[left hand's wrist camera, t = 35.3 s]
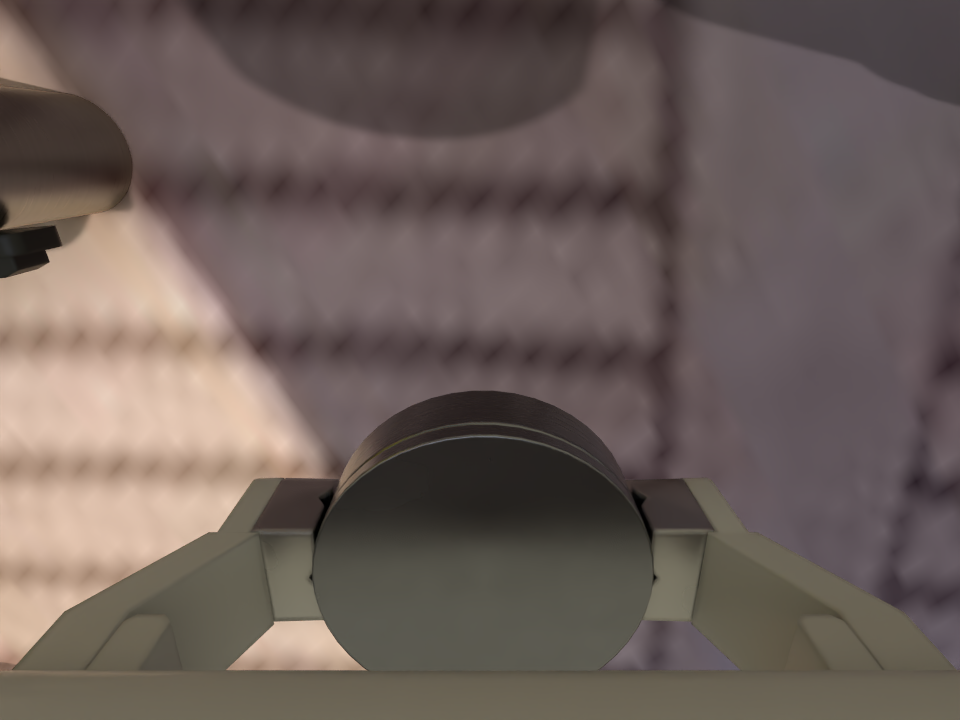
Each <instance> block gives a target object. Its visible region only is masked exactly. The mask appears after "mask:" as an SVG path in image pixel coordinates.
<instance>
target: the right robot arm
mask: <svg viewBox="0 0 960 720" xmlns="http://www.w3.org/2000/svg"><path fill="white" fill-rule="evenodd" d="M60 246H62V243H61V240H60V237H59V235H58V232H57V229H56V226H42V227H30V228H19V229H8V230H0V278H6V277H10V276H14V275H17V274H21V273H24V272H28V271H32V270H35V269H39V268H40V267H42V266H44V265H45V264H47V263H49V259H48V256H47V253H46V251H45V250H47V249H51V248H55V247H60Z"/></svg>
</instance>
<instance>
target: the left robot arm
mask: <svg viewBox="0 0 960 720" xmlns="http://www.w3.org/2000/svg"><path fill="white" fill-rule="evenodd" d="M626 483H627V485H628V487H629V490H630V492H631V494H632V497H633V499H634V501H635V503H636V506H637V508H638V510H639V513H640V515H641V517H642V519H643V522H644V524H645V527H646V530H647V532H648V535H649V538H650V542H651V547H652V552H653V557H654V579H653V586H652V593H651V597H650V600H649V603H648V606H647V609H646V612H645V614H644V616H643V618H642V620H659V621H692V623H691V624H692V625H693V626H694V627H695V628H697V629H698V630H699V631H700V632H701V633H702V634H703V635H704V636H705V637H706V638H707V639H708V640H709V641H710V642H711V643H712V644H714V645H715V646H716V647H717V648H718V649H719V650H720V651H721V652H722V653H723V654H724V655H725V656H726V657H727V658H728V659H730V660H731V661H732V662H733V663H734V664H735V665H736V666H737V667H738V668H739V669H740V670H522V671H315V670H226V669H227V668H228V667H229V666H230V665H231V664H232V663H234V662H235V661H236V660H237V659H238V658H239V657H240V656H241V655H242V654H243V653H244V652H245V651H246V650H247V649H248V648H249V647H250V646H251V645H253V644H254V643H255V642H256V641H257V640H258V639H259V638H260V637H261V636H262V635H263V634H264V633H265V632H266V631H267V630H268V629H269V628H271V627H272V626H273V625H274V621H305V620H324V619H323V617H322V615H321V613H320V610H319V607H318V604H317V601H316V597H315V594H314V587H313V580H312V557H313V552H314V546H315V541H316V538H317V535H318V532H319V530H320V527H321V525H322V522H323V519H324V517H325V515H326V512H327V510H328V508H329V505H330V503H331V500H332V498H333V496H334V493H335V491H336V489H337V486H338V484H339V479H307V478H285V479H284V478H258V479H255V480H253V481H252V483H251V484H250V486H249V487H248V489H247V490H246V492H245V493H244V494H243V496H242V497H241V499H240V500H239V502H238V503H237V505H236V506H235V507H234V509H233V510H232V512H231V513H230V515H229V516H228V518H227V519H226V520H225V522H224V523H223V525H222V526H221V528H220V529H219V531H218V532H209V533H207V534H205V535H203V536H201V537H200V538H198V539H196V540H194V541H192V542H190V543H189V544H187V545H185V546H183V547H181V548H180V549H178V550H176V551H174V552H172V553H170V554H169V555H167V556H165V557H163V558H161V559H160V560H158V561H156V562H154V563H152V564H150V565H149V566H147V567H145V568H143V569H141V570H139V571H138V572H136V573H134V574H132V575H130V576H129V577H127V578H125V579H123V580H121V581H119V582H118V583H116V584H114V585H112V586H110V587H109V588H107V589H105V590H103V591H101V592H99V593H98V594H96V595H94V596H92V597H90V598H89V599H87V600H85V601H83V602H81V603H79V604H78V605H76V606H74V607H72V608H70V609H69V610H67V611H65V612H64V613H63V614H62V615H61V616H60V617H59V618H58V619H57V621H56V622H55V623H54V624H53V625H52V626H51V627H50V628H49V629H48V631H47V632H46V633H45V634H44V635H43V636H42V637H41V638H40V639H39V640H38V642H37V643H36V644H35V645H34V646H33V647H32V648H31V649H30V650H29V652H28V653H27V654H26V655H25V656H24V657H23V658H22V659H21V660H20V662H19V663H18V664H17V665H16V666H15V667H14V668H13V669H12V670H0V720H960V670H956V669H955V668H954V667H953V666H952V664H951V663H950V662H949V661H948V660H947V659H946V658H945V657H944V656H943V655H942V653H941V652H940V651H939V650H938V649H937V648H936V647H935V646H934V645H933V644H932V643H931V641H930V640H929V639H928V638H927V637H926V636H925V635H924V634H923V633H922V632H921V630H920V629H919V628H918V627H917V626H916V625H915V624H914V623H913V622H912V621H911V619H910V618H909V617H908V616H907V615H906V614H905V613H904V612H902V611H900V610H898V609H897V608H895V607H893V606H891V605H889V604H887V603H886V602H884V601H882V600H880V599H878V598H877V597H875V596H873V595H871V594H869V593H867V592H866V591H864V590H862V589H860V588H858V587H856V586H855V585H853V584H851V583H849V582H847V581H845V580H844V579H842V578H840V577H838V576H836V575H834V574H833V573H831V572H829V571H827V570H825V569H823V568H822V567H820V566H818V565H816V564H814V563H812V562H811V561H809V560H807V559H805V558H803V557H801V556H800V555H798V554H796V553H794V552H792V551H790V550H789V549H787V548H785V547H783V546H781V545H779V544H778V543H776V542H774V541H772V540H770V539H768V538H767V537H765V536H763V535H761V534H759V533H757V532H748V531H747V529H746V528H745V526H744V525H743V524H742V522H741V521H740V519H739V518H738V517H737V515H736V514H735V512H734V511H733V510H732V508H731V507H730V505H729V504H728V503H727V501H726V500H725V498H724V497H723V496H722V494H721V493H720V491H719V490H718V489H717V487H716V486H715V484H714V483H713V482H712V480H710V479H708V478H680V479H648V480H626Z"/></svg>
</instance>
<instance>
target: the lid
mask: <svg viewBox="0 0 960 720" xmlns="http://www.w3.org/2000/svg"><path fill="white" fill-rule="evenodd" d="M653 579H654V557H653V552H652V547H651V542H650V538H649V535H648V532H647V530H646V527H645V524H644V522H643V519H642V517H641V515H640V513H639V510H638V508H637V506H636V503H635V501H634V499H633V497H632V494H631V492H630V490H629V487H628V485H627V483H626V480H625V478H624V476H623V474H622V471H621V469H620V467H619V465H618V464H617V462H616V460H615V458H614V457H613V455H612V453H611V452H610V451H609V449H608V448H607V447H606V446H605V444H604V443H603V442H602V440H601V439H600V438H599V437H598V436H597V435H596V434H595V433H593V432H592V431H591V430H590V429H589V428H588V427H587V426H586V425H584V424H583V423H582V422H580V421H579V420H577V419H576V418H575V417H573V416H572V415H570V414H568V413H566V412H565V411H563V410H561V409H559V408H557V407H555V406H553V405H551V404H548V403H545V402H543V401H540V400H537V399H535V398H531V397H527V396H523V395H519V394H515V393H507V392H499V391H467V392H458V393H451V394H447V395H443V396H439V397H435V398H431V399H428V400H425V401H423V402H420V403H418V404H415V405H412V406H410V407H408V408H406V409H405V410H403V411H401V412H399V413H397V414H395V415H394V416H392V417H391V418H389V419H388V420H387V421H385V422H384V423H382V424H381V425H380V426H378V427H377V428H376V429H375V430H374V431H373V432H372V433H371V434H370V435H369V436H368V437H367V438H366V439H365V440H364V441H363V442H362V443H361V445H360V446H359V447H358V449H357V450H356V451H355V452H354V454H353V455H352V457H351V459H350V461H349V462H348V464H347V466H346V468H345V470H344V472H343V474H342V477H341V479H340V481H339V484H338V486H337V489H336V491H335V493H334V496H333V498H332V500H331V503H330V505H329V508H328V510H327V512H326V515H325V517H324V519H323V522H322V525H321V527H320V530H319V532H318V535H317V538H316V541H315V546H314V552H313V557H312V580H313V587H314V594H315V597H316V601H317V604H318V607H319V610H320V613H321V615H322V617H323V619H324V621H325V623H326V625H327V627H328V629H329V630H330V632H331V633H332V634H333V636H334V637H335V639H336V640H337V642H338V643H339V644H340V645H341V646H342V647H343V649H344V650H345V651H346V652H347V653H348V654H349V655H350V656H351V657H352V658H353V659H354V660H355V661H357V662H358V663H359V664H360V665H361V666H362V667H364V668H365V669H366V670H368V671H522V670H599V669H601V668H602V667H603V666H604V665H605V664H607V663H608V662H609V661H610V660H611V659H612V658H614V657H615V656H616V655H617V654H618V653H619V651H620V650H621V649H622V648H623V647H624V646H625V645H626V644H627V643H628V641H629V640H630V638H631V637H632V635H633V634H634V632H635V631H636V630H637V628H638V626H639V624H640V622H641V620H642V618H643V616H644V614H645V612H646V609H647V606H648V603H649V600H650V597H651V593H652V586H653Z"/></svg>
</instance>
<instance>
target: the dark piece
mask: <svg viewBox="0 0 960 720" xmlns="http://www.w3.org/2000/svg"><path fill="white" fill-rule="evenodd" d="M131 177H132V161H131V155H130V151H129V148H128V145H127V143H126V140H125V138H124V136H123V135H122V133H121V131H120V130H119V128H118V127H117V125H116V124H115V123H114V122H113V120H112V119H111V118H110V117H109V116H108V115H107V114H106V113H105V112H104V111H103V110H101V109H100V108H99V107H97V106H96V105H94V104H93V103H91V102H89V101H88V100H85V99H83V98H81V97H78V96H75V95H71V94H66V93H58V92H50V91H41V90H33V89H25V88H17V87H9V86H0V230H2V229H8V228H14V227H19V226H25V225H31V224H37V223H43V222H48V221H54V220H60V219H66V218H72V217H77V216H83V215H89V214H95V213H99V212H104V211H106V210H108V209H110V208H112V207H114V206H115V205H116V204H117V203H119V202H120V201H121V199H122V198H123V197H124V196H125V194H126V192H127V190H128V188H129V185H130V182H131Z"/></svg>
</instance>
